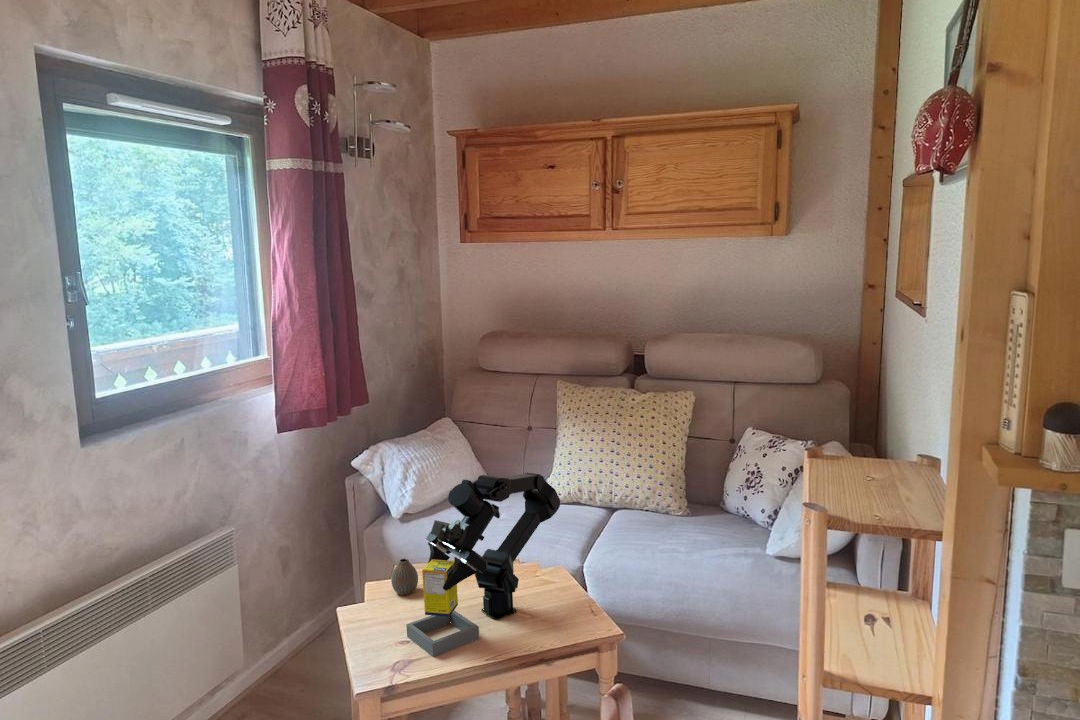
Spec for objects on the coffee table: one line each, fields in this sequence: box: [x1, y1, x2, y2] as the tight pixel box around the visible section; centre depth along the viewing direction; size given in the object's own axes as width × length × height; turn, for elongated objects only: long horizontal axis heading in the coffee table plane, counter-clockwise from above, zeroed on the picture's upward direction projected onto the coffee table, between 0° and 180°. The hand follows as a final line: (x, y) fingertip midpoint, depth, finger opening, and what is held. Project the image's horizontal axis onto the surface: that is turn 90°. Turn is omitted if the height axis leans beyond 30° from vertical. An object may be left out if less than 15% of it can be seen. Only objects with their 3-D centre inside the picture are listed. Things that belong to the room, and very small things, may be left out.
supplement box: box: [421, 559, 459, 617], centre depth 169 cm, size 6×6×11 cm
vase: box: [390, 558, 419, 596], centre depth 195 cm, size 7×7×9 cm
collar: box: [406, 609, 480, 658], centre depth 170 cm, size 12×12×3 cm
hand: (434, 583), depth 168 cm, fingers closed on supplement box, 8 cm apart
